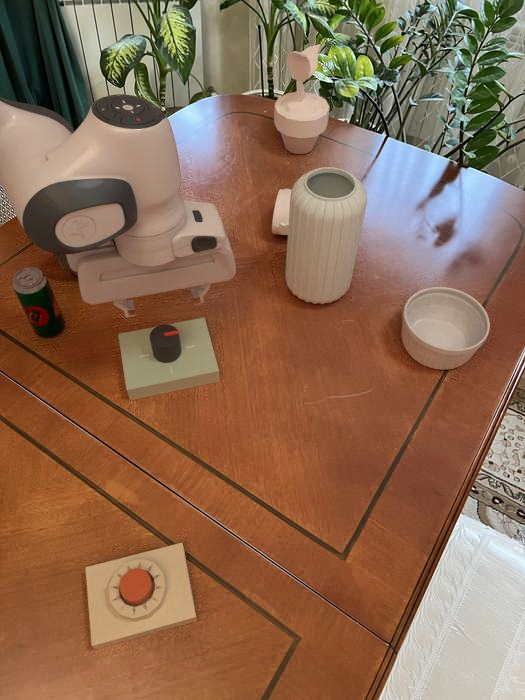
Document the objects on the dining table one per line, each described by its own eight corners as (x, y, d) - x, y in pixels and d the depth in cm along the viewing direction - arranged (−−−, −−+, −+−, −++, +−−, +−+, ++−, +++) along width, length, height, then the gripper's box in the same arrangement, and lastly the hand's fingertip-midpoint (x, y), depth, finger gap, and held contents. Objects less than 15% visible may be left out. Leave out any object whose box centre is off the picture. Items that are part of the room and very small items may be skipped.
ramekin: (386, 361, 92) (395, 334, 86) (405, 304, 99) (414, 276, 94) (469, 387, 89) (483, 361, 84) (482, 327, 97) (496, 299, 91)
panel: (129, 400, 87) (126, 389, 84) (121, 345, 93) (117, 333, 91) (219, 381, 89) (219, 370, 87) (205, 328, 96) (204, 316, 93)
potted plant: (308, 169, 123) (319, 50, 103) (263, 151, 126) (265, 32, 106) (336, 141, 129) (352, 23, 109) (292, 124, 133) (299, 8, 113)
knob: (155, 365, 87) (151, 348, 84) (151, 343, 90) (147, 326, 86) (183, 359, 88) (181, 342, 84) (178, 338, 90) (176, 320, 87)
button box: (95, 649, 66) (87, 643, 63) (89, 572, 72) (81, 562, 68) (197, 621, 68) (194, 613, 65) (184, 547, 74) (181, 537, 70)
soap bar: (320, 251, 107) (324, 218, 101) (271, 244, 108) (272, 210, 102) (328, 211, 114) (333, 177, 108) (282, 204, 115) (284, 170, 109)
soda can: (70, 331, 95) (50, 280, 85) (41, 344, 93) (17, 294, 83) (58, 312, 97) (37, 260, 88) (30, 324, 95) (5, 273, 86)
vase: (339, 319, 97) (358, 215, 80) (275, 301, 100) (280, 196, 82) (356, 274, 104) (377, 169, 86) (296, 258, 106) (305, 152, 88)
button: (123, 608, 66) (121, 604, 64) (120, 576, 68) (117, 572, 66) (155, 599, 66) (152, 595, 65) (150, 568, 68) (148, 564, 67)
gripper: (63, 263, 65) (90, 338, 76) (238, 234, 69) (240, 310, 80) (60, 227, 69) (87, 304, 80) (226, 202, 72) (230, 278, 83)
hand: (164, 307), depth 80 cm, fingers open, 8 cm apart
